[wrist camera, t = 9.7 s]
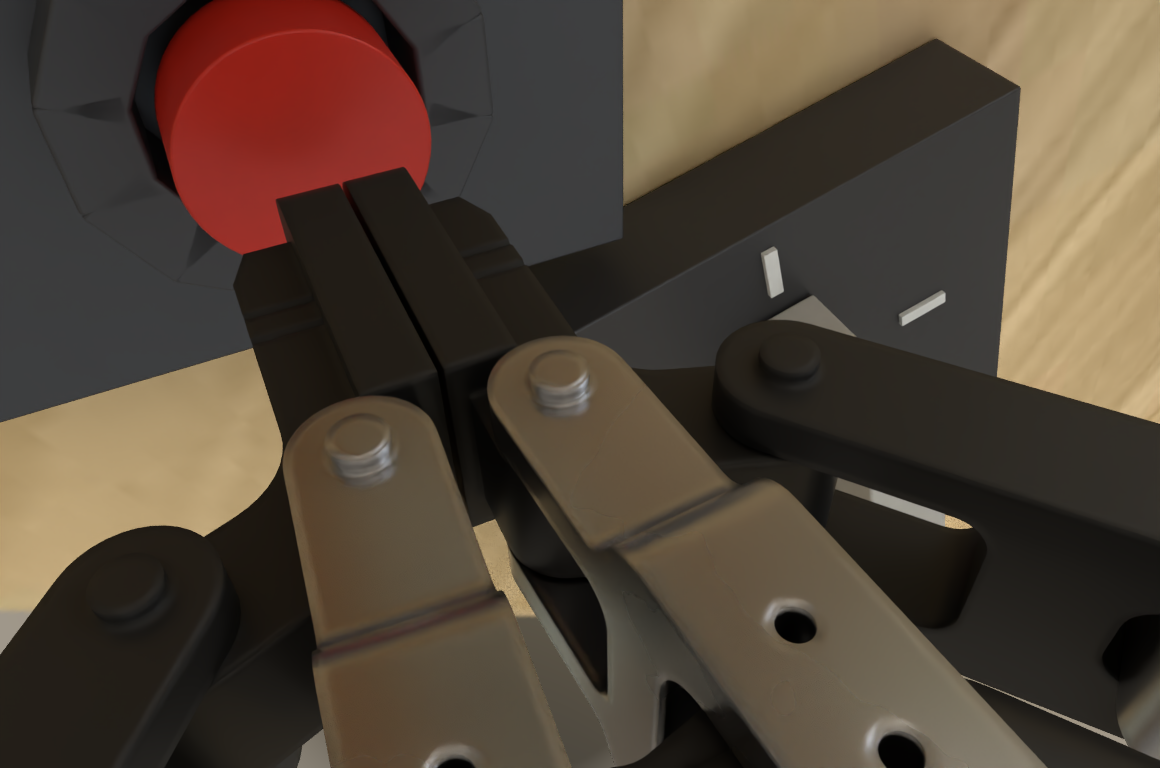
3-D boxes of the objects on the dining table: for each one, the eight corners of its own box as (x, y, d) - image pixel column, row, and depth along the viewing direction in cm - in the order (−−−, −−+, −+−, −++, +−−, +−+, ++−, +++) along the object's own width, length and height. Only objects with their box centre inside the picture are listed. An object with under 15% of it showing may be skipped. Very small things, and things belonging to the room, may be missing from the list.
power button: (376, -41, 14) (412, 3, 13) (413, 177, 16) (447, 230, 15) (115, 11, 13) (128, 62, 12) (198, 233, 15) (214, 295, 14)
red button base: (561, -414, 15) (685, -393, 12) (582, 190, 23) (662, 284, 20) (-438, -329, 12) (-565, -274, 9) (-15, 356, 19) (-15, 496, 16)
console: (936, 37, 24) (1026, 89, 22) (934, 326, 32) (1001, 384, 30) (445, 301, 23) (492, 383, 21) (571, 533, 31) (614, 609, 29)
